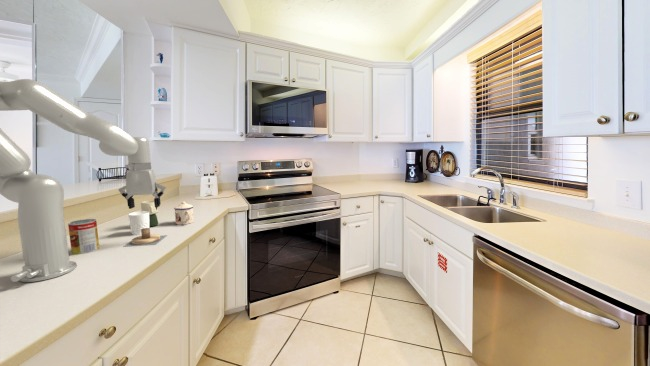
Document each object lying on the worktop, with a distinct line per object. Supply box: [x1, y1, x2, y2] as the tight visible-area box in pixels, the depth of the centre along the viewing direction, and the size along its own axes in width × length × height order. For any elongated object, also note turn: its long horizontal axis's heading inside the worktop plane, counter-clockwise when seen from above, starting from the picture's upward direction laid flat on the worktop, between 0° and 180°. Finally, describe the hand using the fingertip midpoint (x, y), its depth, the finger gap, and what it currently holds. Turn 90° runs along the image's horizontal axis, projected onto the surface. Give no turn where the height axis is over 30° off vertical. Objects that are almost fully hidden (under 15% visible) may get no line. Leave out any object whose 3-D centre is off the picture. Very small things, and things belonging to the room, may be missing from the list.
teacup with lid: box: [173, 201, 195, 226], centre depth 137 cm, size 12×9×12 cm
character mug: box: [140, 199, 159, 227], centre depth 131 cm, size 11×7×13 cm, turn 43°
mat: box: [122, 234, 168, 248], centre depth 109 cm, size 12×12×1 cm
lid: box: [131, 227, 161, 245], centre depth 108 cm, size 10×10×5 cm
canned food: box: [67, 218, 100, 255], centre depth 98 cm, size 8×8×12 cm
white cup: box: [128, 211, 151, 236], centre depth 119 cm, size 8×8×10 cm
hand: (144, 207), depth 107 cm, fingers open, 9 cm apart
